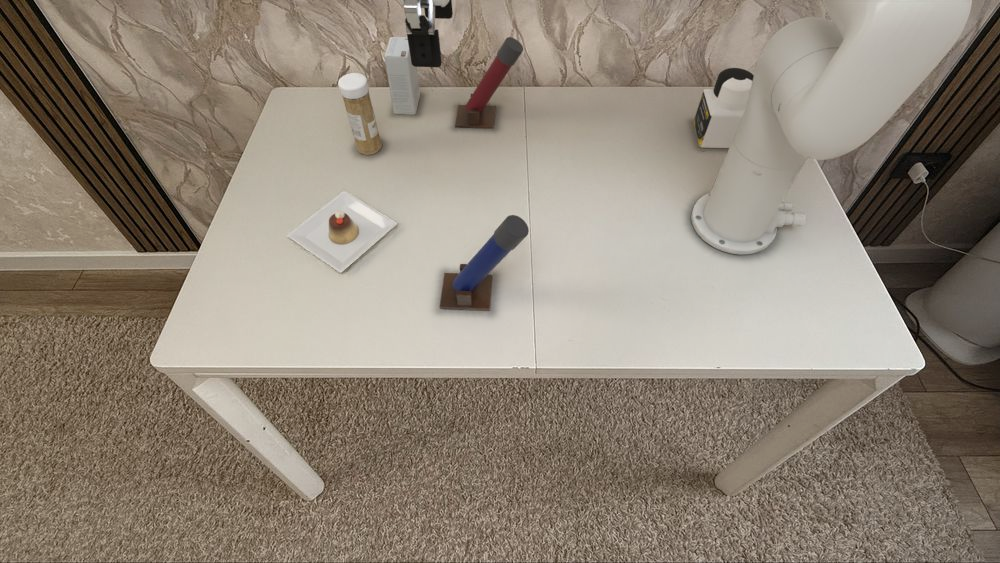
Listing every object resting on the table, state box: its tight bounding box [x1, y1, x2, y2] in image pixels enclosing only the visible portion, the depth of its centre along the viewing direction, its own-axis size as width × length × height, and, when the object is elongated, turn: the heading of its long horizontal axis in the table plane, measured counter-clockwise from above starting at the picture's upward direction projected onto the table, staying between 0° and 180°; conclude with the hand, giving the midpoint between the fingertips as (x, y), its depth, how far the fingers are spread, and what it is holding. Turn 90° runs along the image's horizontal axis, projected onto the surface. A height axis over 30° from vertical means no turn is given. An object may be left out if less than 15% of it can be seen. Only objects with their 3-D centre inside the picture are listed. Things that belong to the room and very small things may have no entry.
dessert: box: [286, 190, 398, 274], centre depth 84 cm, size 12×12×5 cm
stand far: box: [454, 93, 497, 130], centre depth 101 cm, size 7×6×3 cm
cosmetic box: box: [384, 36, 421, 116], centre depth 100 cm, size 6×4×12 cm
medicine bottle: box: [692, 67, 754, 149], centre depth 94 cm, size 7×7×12 cm
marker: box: [453, 214, 530, 292], centre depth 73 cm, size 3×3×15 cm
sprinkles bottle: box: [337, 72, 383, 156], centre depth 92 cm, size 5×5×14 cm
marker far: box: [465, 36, 524, 114], centre depth 96 cm, size 3×3×15 cm
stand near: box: [439, 263, 494, 312], centre depth 78 cm, size 7×6×3 cm
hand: (433, 40), depth 63 cm, fingers open, 9 cm apart
